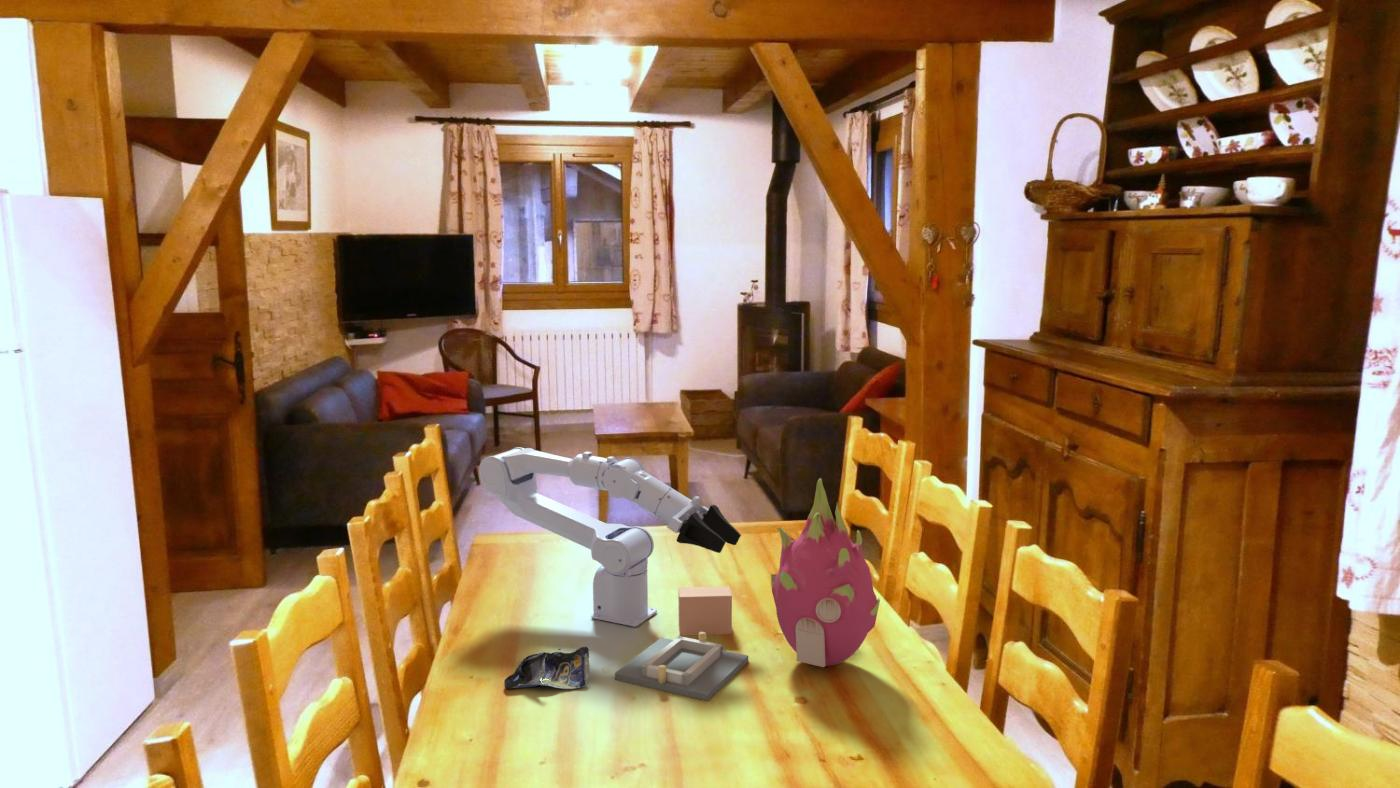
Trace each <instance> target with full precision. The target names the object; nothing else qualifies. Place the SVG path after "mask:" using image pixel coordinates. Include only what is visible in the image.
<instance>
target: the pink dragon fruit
mask: <svg viewBox="0 0 1400 788" xmlns="http://www.w3.org/2000/svg"><path fill="white" fill-rule="evenodd" d="M815 487H816V489H815V494H814V500H813V505H812V508H811V509H810V513H809V514H808V516H807V519H806V522H805V526H804V527H803V529H802V532H801V533H800V535H799V537H798V538H797V539H794V538H793V537H792V536H791V535H790V534H788V532H787V531H786V530H784V529H783V528H782V527H781V526H780V527H777V528H776V529H777V530H778V531H779V534H780V539H781V550H780V558H779V568H778V572H777V573H770V586H771V593H772V596H773V600H774V605H775V612H776V617H777V621H778V624H779V627H780V630H781V632H782V634H783V636H784V638H785V640H786V642H787V643H788V645H789V646H790V647H791V648H792V650H793V651H794V652H795V653H796V661H797V662H800V663H805V664H807V665H812V666H817V667H821V668H825V667H826V666H827V667H829V666H834V665H839V664H841V663H843V662H845V661H846V660H848V659H850V658H851V657H853V655H855V653H856V652H857V651H858V650H859V649H860V647H861V646H862V644H863V643H864V641H865V639H866V638H867V635H868V634H869V633H870V632H871V631H872V629H874V628H875V626H876V621H877V617H878V612H879V606H880V601H881V598H880V597H877V595H876V594H875V592H874V585H873V579H872V575H871V569H870V567H869V564H868V563H867V561H866V560H865V558H864V556H863V547H862V546H863V537H862V534H861V531H860V530H859V529H857V531H856V542H855V543H854V542H853V541H852V540H851V538H850V535H849V531H848V528H847V526H846V523H845V522H844V519H843V516H842V513H841V511H840V508H839V505H838V502H836V506H835V511H834V515H835V518H834V516H833V513H832V511H831V507H830V505H829V504H830V503H829V501H828V496H827V492H826V490H825V488H824V484H823V479H822V478H821V477H820V478H818V480H817V482H816V486H815Z"/></svg>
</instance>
